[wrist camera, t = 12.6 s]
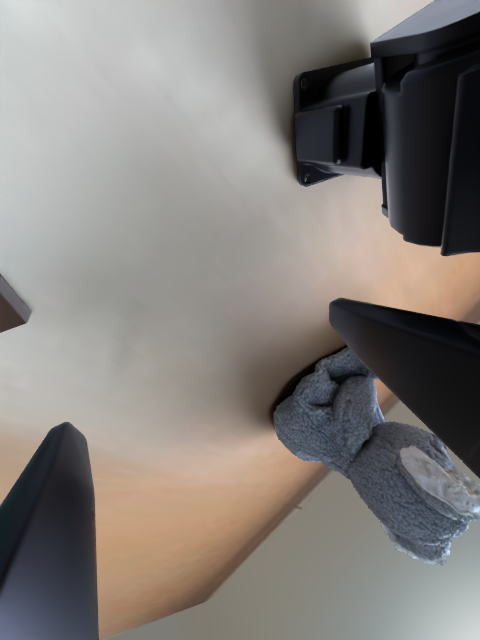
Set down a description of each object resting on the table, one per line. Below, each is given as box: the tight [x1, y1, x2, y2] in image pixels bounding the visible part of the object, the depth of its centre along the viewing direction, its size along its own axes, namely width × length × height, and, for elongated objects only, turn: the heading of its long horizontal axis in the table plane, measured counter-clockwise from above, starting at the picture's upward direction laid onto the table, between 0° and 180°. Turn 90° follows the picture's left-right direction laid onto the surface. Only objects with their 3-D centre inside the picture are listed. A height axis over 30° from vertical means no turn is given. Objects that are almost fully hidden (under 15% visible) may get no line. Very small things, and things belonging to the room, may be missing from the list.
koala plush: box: [273, 347, 480, 565], centre depth 31 cm, size 17×18×20 cm
